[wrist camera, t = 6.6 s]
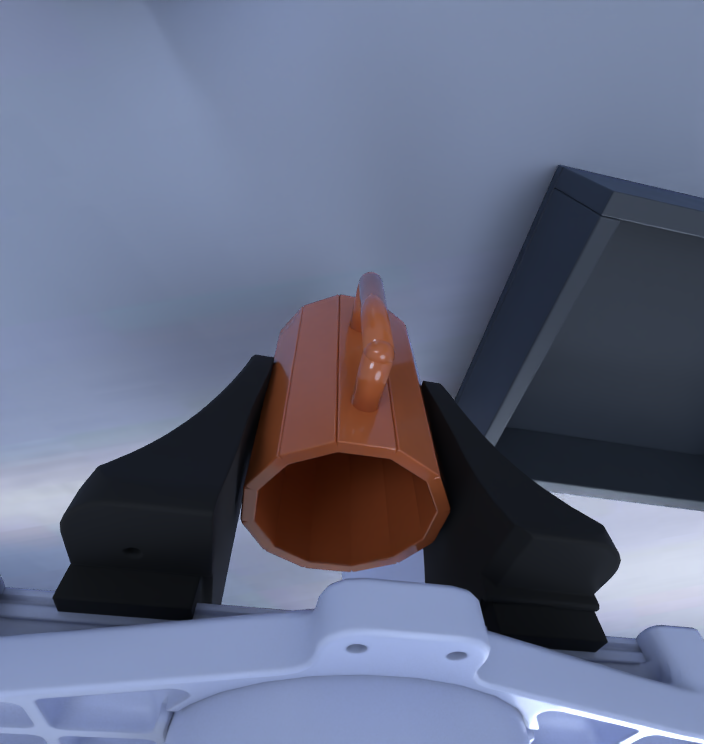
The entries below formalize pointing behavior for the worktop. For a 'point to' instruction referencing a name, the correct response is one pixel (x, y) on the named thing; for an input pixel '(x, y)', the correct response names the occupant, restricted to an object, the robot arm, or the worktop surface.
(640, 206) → the bin
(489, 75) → the worktop surface
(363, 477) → the cup
